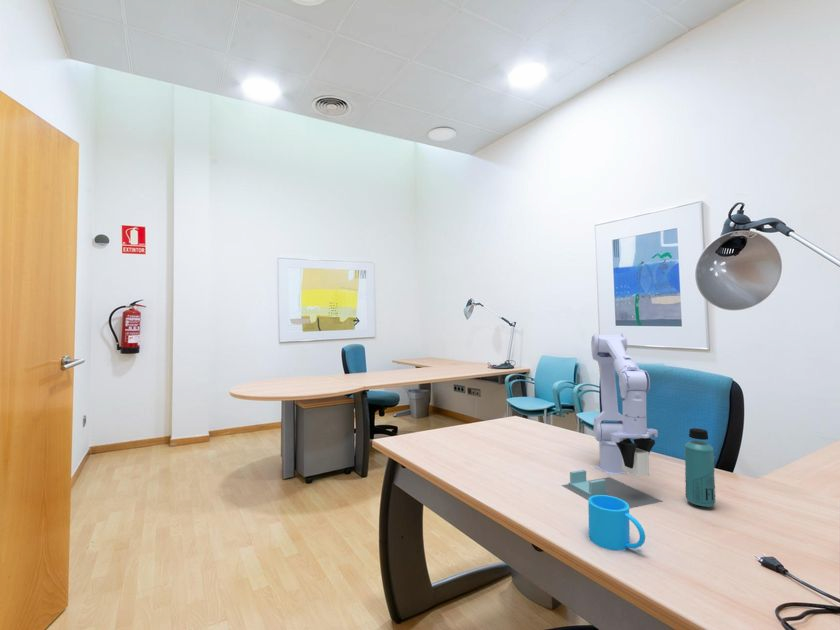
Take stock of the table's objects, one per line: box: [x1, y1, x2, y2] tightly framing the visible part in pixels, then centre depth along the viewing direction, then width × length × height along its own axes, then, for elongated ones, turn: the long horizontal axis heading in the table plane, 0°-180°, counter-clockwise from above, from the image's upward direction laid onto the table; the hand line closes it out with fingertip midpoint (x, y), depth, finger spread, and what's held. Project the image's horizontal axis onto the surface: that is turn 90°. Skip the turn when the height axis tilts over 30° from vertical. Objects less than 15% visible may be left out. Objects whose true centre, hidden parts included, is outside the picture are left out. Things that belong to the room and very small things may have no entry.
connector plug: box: [622, 448, 650, 478], centre depth 109 cm, size 4×5×6 cm
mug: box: [587, 495, 646, 551], centre depth 87 cm, size 12×8×8 cm
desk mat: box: [561, 476, 663, 509], centre depth 112 cm, size 18×18×1 cm
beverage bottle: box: [684, 427, 717, 508], centre depth 105 cm, size 6×7×20 cm
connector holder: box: [568, 469, 608, 497], centre depth 115 cm, size 6×8×4 cm
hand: (635, 465), depth 109 cm, fingers closed on connector plug, 4 cm apart
